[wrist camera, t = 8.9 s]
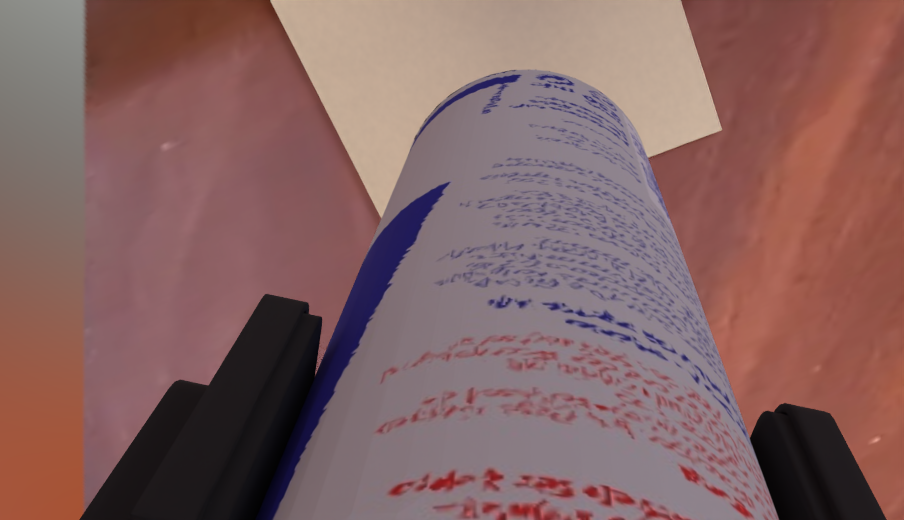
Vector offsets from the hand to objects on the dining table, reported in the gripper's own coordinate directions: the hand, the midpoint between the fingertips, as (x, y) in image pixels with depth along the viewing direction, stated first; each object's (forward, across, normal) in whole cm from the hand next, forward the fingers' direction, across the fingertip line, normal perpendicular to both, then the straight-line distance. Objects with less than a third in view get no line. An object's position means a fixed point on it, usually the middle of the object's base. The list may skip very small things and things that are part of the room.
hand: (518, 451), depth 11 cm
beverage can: (+10, 0, 0) cm, 10 cm away
